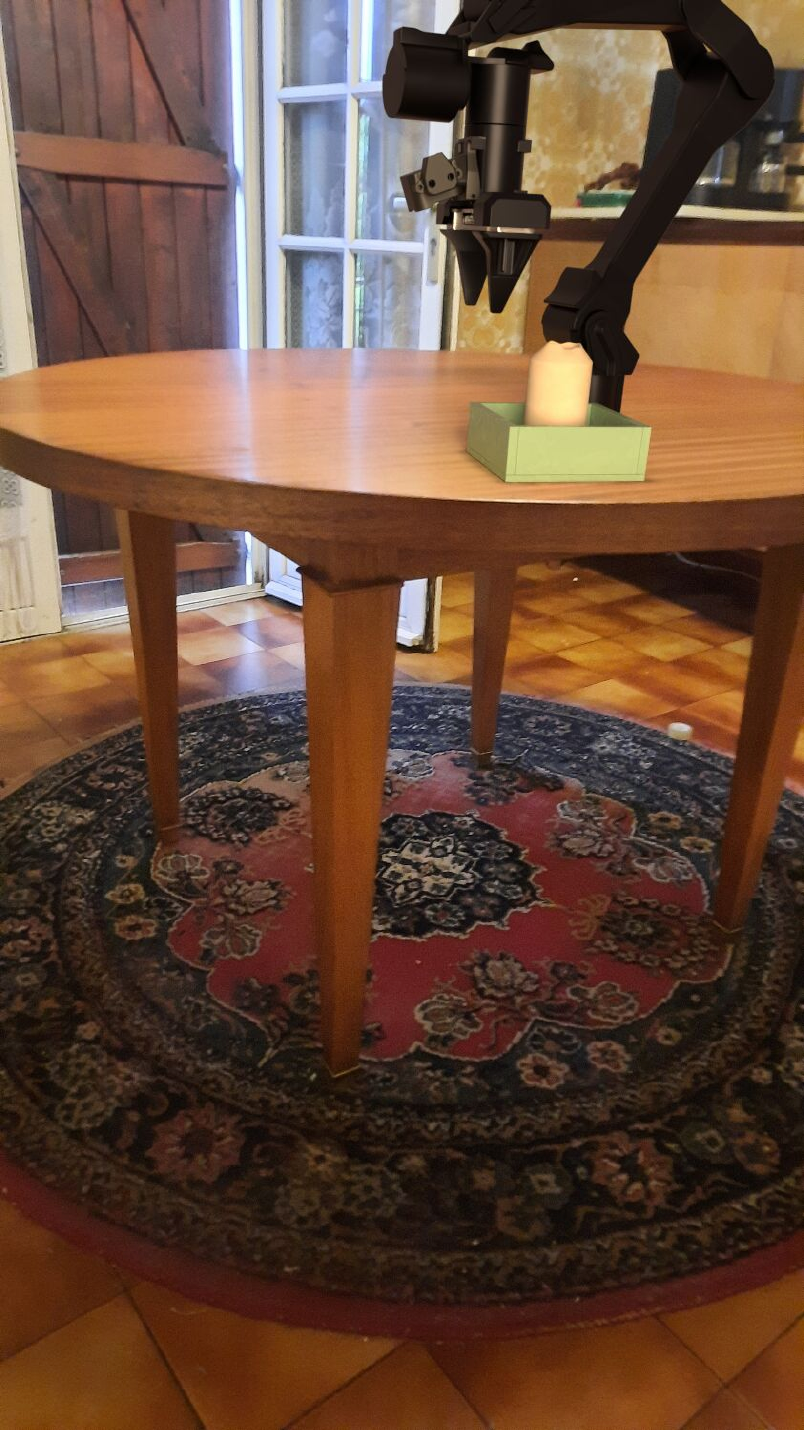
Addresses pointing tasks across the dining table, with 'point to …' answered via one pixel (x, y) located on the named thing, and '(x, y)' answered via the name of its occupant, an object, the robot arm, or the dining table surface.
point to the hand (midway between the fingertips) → (482, 309)
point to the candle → (558, 385)
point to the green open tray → (557, 445)
